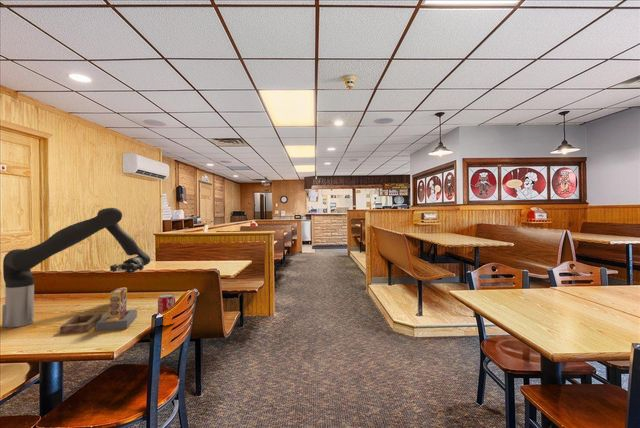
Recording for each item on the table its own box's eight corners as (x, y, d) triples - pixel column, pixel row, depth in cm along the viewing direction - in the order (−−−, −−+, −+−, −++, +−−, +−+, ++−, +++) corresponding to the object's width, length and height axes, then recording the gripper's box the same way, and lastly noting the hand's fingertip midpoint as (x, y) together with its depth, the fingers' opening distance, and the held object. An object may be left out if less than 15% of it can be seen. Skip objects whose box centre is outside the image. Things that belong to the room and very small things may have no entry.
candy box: (119, 326, 136) (120, 291, 136) (108, 327, 135) (109, 292, 135) (126, 319, 144) (127, 287, 144) (116, 320, 143) (117, 287, 143)
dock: (95, 331, 130) (96, 321, 130) (109, 318, 145) (109, 309, 145) (127, 328, 133) (127, 318, 133) (136, 316, 149) (137, 307, 149)
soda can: (168, 327, 135) (168, 297, 135) (153, 326, 136) (154, 296, 136) (178, 322, 142) (179, 293, 142) (165, 320, 143) (165, 292, 143)
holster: (60, 334, 127) (60, 326, 127) (76, 321, 141) (76, 315, 141) (88, 331, 130) (89, 324, 130) (101, 319, 144) (102, 313, 144)
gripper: (117, 258, 167) (107, 262, 151) (147, 257, 171) (139, 261, 155) (117, 272, 166) (106, 277, 151) (146, 271, 171) (139, 276, 155)
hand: (123, 269), depth 153 cm, fingers open, 8 cm apart
